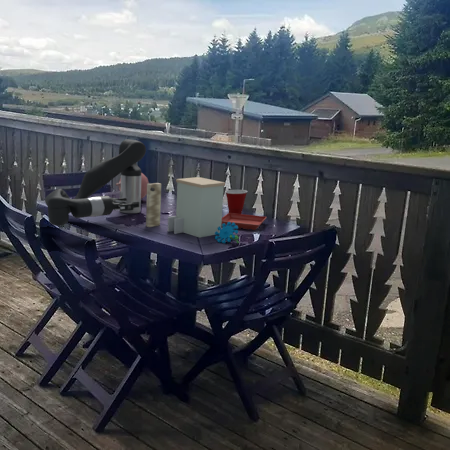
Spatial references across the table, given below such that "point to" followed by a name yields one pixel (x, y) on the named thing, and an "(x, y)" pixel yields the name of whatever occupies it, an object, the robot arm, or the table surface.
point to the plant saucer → (244, 220)
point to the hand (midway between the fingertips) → (132, 202)
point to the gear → (227, 233)
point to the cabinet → (197, 207)
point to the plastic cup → (235, 200)
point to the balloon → (143, 185)
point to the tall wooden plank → (153, 204)
